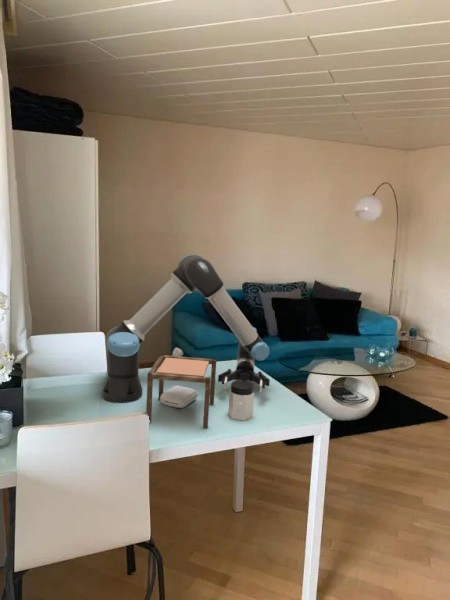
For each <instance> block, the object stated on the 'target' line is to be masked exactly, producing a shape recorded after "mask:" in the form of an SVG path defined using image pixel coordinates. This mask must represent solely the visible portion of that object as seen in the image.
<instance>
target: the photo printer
mask: <svg viewBox="0 0 450 600" xmlns="http://www.w3.org/2000/svg"><path fill="white" fill-rule="evenodd" d="M197 398H198V391H197V390H196V389H193V388H191V387H185V386H182V385H174V386H172V387H170V389H167V390H166V391H163V394H162V395H161V397H160V400H159V402H160V403H162V404H163V405H165V406H167V407H168V406H169V407H171V408H177V409H183V408H186V406H188V405H190V404H191V403H193V402H194V401H196V399H197Z"/></svg>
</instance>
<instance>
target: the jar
mask: <svg viewBox="0 0 450 600" xmlns="http://www.w3.org/2000/svg"><path fill="white" fill-rule="evenodd" d="M253 383H254V382H251V381H249V380H246V381H244V380H241V379H239V380H232V381H231V384H230V388H229V395H228V396H229V397H228V409H227V411H228V412H227V414H228V415H229V416H230V418H231V419H232V420H236V421H243V422H244V421H247V420H249V419H252V418H253V415H254V403H255V402H254V401H255V392H254V387H255V385H254V384H253Z"/></svg>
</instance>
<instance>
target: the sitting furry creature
mask: <svg viewBox="0 0 450 600" xmlns="http://www.w3.org/2000/svg"><path fill="white" fill-rule="evenodd" d="M183 355H184V352H183V350H182V349H180V348H179V347H175V348H174V349H173V351H172V354H171V356H179V357H183Z"/></svg>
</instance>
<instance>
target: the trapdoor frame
mask: <svg viewBox="0 0 450 600" xmlns="http://www.w3.org/2000/svg"><path fill="white" fill-rule="evenodd" d="M165 358H177V359H189V360H201V361H209V365H211V372H210V377H209V376H208V377H207V376H204V377H197V376H186V375H174V374H162V373H157V371H158V369H159V368H160V366H161V364H162V363H163V361H164V360H165ZM216 371H217V359H212V358H203V357H188V356H181V357H179V356H172V355H167V354H166V355H165V354H161V355H159V356H158V358H157V360H156V361H155V362H154V364H153V365H152V367H151V368H150V370H148V373H147V374H146V375H147V376H146V377H147V380H146V382H147V383H146V409H145V410H146V413H147V414H148V416H149V420H150V423H149V424H151V423H152V416H153V415H152V414H153V413H152V411H153V383H154V382H153V381H154V380H158V399H157V400H158V401H160V397H161V395H162V394H163V393H164V389H165V388H164V384H165V381H164V380H167V381H179V382H188V383H197V384H198V383H201V384H204V398H203V399H204V401H203V403H204V404H203V421H202V428H203V429H208V427H209V414H210V412H209V411H210V406H214V404H215V388H216V375H217V373H216ZM146 413H145V414H146Z"/></svg>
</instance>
